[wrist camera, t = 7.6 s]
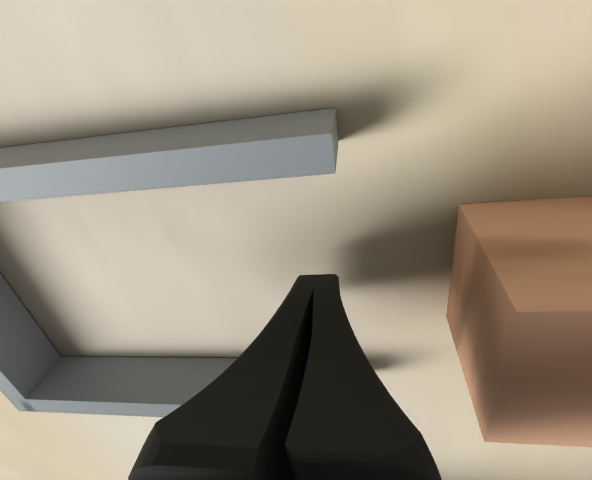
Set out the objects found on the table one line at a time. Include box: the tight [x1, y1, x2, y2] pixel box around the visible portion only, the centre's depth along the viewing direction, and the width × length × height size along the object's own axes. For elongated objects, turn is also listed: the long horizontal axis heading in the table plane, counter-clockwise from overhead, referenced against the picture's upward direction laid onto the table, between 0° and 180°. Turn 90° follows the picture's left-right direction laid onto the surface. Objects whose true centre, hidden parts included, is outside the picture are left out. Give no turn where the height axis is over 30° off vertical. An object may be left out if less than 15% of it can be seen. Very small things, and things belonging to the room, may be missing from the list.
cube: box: [446, 196, 592, 447], centre depth 10 cm, size 5×5×5 cm
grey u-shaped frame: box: [0, 108, 338, 417], centre depth 14 cm, size 12×16×2 cm
